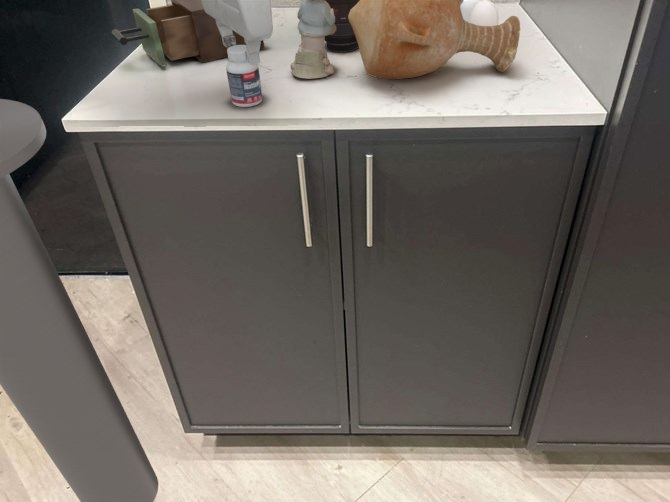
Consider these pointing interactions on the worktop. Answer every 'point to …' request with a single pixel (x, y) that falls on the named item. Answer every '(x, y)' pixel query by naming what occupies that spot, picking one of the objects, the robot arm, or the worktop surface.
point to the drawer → (163, 33)
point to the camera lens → (342, 27)
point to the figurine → (313, 39)
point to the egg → (484, 14)
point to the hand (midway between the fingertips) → (241, 54)
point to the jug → (425, 36)
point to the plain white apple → (468, 8)
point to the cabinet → (207, 32)
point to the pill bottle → (243, 78)
